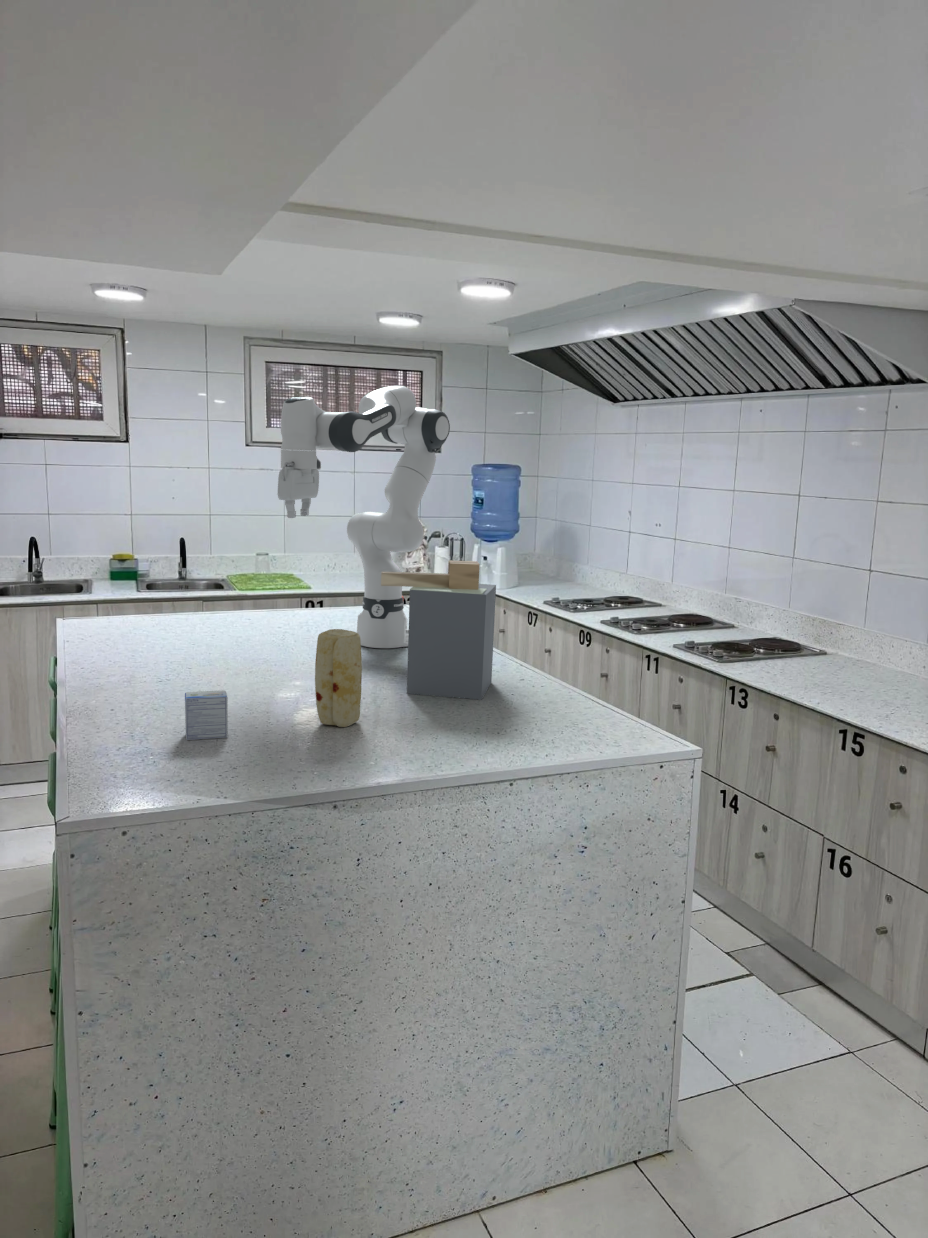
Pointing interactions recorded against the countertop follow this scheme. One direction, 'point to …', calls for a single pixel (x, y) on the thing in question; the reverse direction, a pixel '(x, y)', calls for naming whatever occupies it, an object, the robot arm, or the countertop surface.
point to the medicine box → (206, 715)
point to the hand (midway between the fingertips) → (298, 516)
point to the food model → (338, 677)
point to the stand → (451, 641)
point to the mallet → (437, 577)
